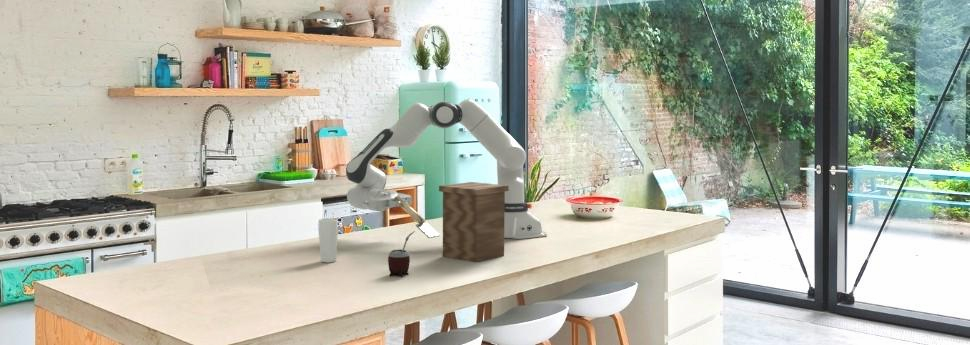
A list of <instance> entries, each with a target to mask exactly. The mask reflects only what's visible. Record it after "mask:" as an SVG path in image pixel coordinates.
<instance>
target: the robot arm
mask: <svg viewBox="0 0 970 345" xmlns="http://www.w3.org/2000/svg"><path fill="white" fill-rule="evenodd" d="M456 124H460V125H462V126H463V127H464V128H465V129H466V130H467V131H468V132H469V133H470V134H471V136H472V137H474V138H475V139H476V140H477V141H478V142H479V143H480V145H482V147H484V148H485V150H486V151H487V152H489V153H490V154H491V156H492V157H493V158H495V160H496V171H497V172H496V173H497V174H496V175H497V184H498V185H508V186H509V191H505V216H504V239H514V240H523V239H533V238H542V237H547V236H548V232H546V231H544V230H543V227H542V223H541V221H540V219H539V218H538V217H536V216H535V215H534V214H533V213H531V212H530V211H529V209H532V203H530V202H529V203H526V202H525V178H524V177H525V175H524V165H525V163H526V160H527V153H526V151H525V149H524V148H523V147H522V145H521V144H520V143H518V141H516V140H515V139H514V138H513V136H512V135H511V134H510V133H508V132H507V130H506V129H504V127H503V126H502V125H501V124H500V123H499V122H498V121H496V119H495V118H494V117H493V116H492V115H491V114H490V113H489V111H487V110H486V109H485V108H484V107H482V105H481V104H479V103H478V102H476V101H475V100H474V99H471V98H467V99H466V98H465V99H464V100H462V101H460V102H459V103H458V104H457V103H454V102H450V101H445V100H443V101H442V100H441V101H438V102H436V103H435V104H433V105H431V106H428V105H426V104H424V103H421V102H415V103H413V104H411V105H410V106H409V107H408V108H407V109H406V110H405V111H404V112H403V113H402V115H401V116H400V117H399V119H398V120H397V121H396V122H395V123H394V124H393V125H392V126H391V127H389V128H385V129H383V130H381V131H380V132H379V133H378V134H377V135H376V136H375V137H374V138H373V139H372V140H371V141H370V142H369V143H368V144H367V145H366V146H365V148H364V149H362V150H361V151H360V152H359V153H358V154H357V155H356V156H355V157H353V158H352V159H351V160H350V161H349V162H348V163H347V164H346V168H345V174H346V178H347V180H348V181H350V182H352V183H353V184H354V183H355V185H354V187H352V188H349V189H348V191H347V194H346V200H347V201H348V204H349V205H350V206H351V207H354V208H356V209H360V210H369V211H371V212H373V211H374V212H379V213H380V212H384V211H386V210H388V209H391V208H395V207H400V206H401V201H394V198H395V197H396V196H399V197H401V198H402V199H403V200H404V201H405V202H406V203H407V204H408V205H409V206H410V205H412V203H413V199H412V196H411V195H410V194H406V193H402V192H397V190H387V189H386V190H385V187H386V184H387V175H386V173H385V172H384V171H382V170H381V169H380V168H378V167H377V166H374V165H373V164H371V162H373V160H374V159H375V158H377V157H378V156H379V154H380V153H381V152H382V151H383V150H385V149H386V148H390V147H394V148H395V147H396V148H402V149H403V148H409V147H412V146H413V145H414V144H416V142H417V141H418V140H419V138H420V137H421V136H422V134H423V133H424V132H425V130H426V129H427V128H428V127H429V126H435V127H437V128H440V129H449V128H450V127H453V126H454V125H456Z"/></svg>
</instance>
